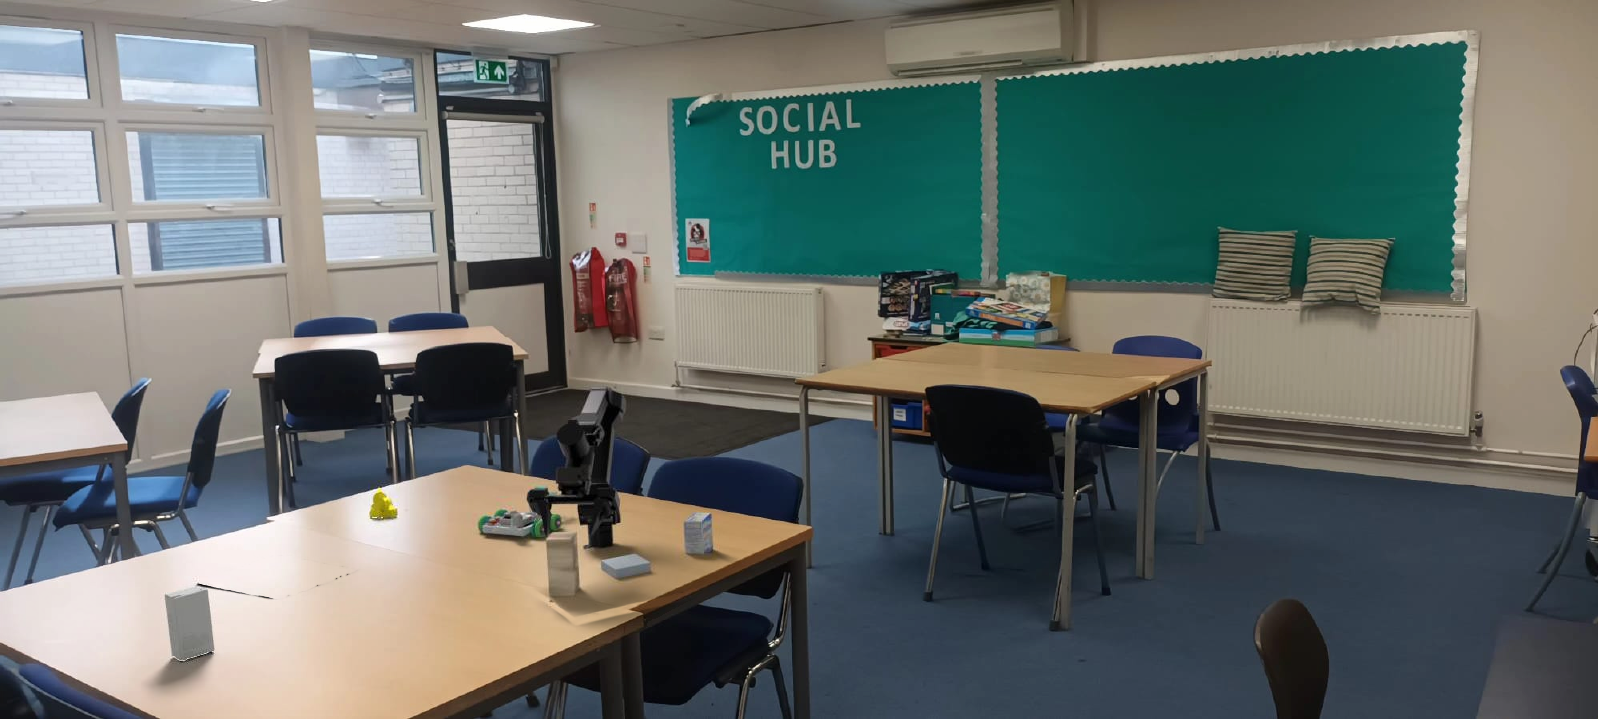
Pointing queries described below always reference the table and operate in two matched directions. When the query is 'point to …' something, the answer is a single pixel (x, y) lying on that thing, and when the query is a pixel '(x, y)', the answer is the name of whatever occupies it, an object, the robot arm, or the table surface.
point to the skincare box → (189, 622)
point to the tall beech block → (562, 564)
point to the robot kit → (518, 522)
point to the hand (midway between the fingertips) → (568, 535)
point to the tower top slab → (625, 566)
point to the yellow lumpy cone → (382, 506)
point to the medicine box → (698, 533)
